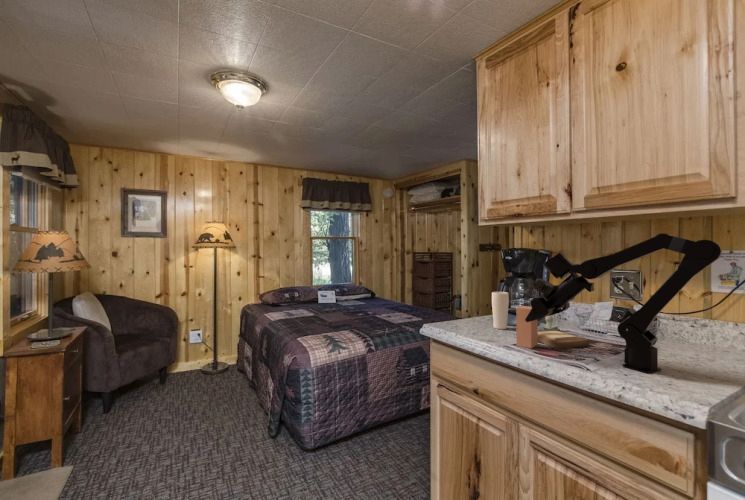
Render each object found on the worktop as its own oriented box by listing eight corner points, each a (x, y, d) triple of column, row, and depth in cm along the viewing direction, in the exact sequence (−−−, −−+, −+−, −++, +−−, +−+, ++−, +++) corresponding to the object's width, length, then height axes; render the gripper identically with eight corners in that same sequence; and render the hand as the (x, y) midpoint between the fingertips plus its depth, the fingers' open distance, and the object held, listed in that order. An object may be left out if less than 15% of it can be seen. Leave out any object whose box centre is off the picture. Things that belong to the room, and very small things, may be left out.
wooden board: (589, 345, 119) (589, 338, 119) (558, 348, 115) (558, 341, 115) (553, 334, 134) (553, 328, 134) (525, 337, 131) (525, 330, 131)
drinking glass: (488, 327, 148) (488, 292, 148) (501, 326, 150) (501, 291, 150) (498, 330, 141) (498, 293, 142) (512, 329, 143) (512, 293, 144)
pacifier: (545, 327, 148) (537, 329, 145) (545, 313, 148) (538, 314, 145) (562, 330, 142) (555, 332, 139) (563, 315, 143) (555, 316, 139)
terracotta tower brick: (537, 345, 119) (537, 307, 119) (531, 348, 116) (531, 309, 116) (523, 342, 123) (523, 306, 123) (516, 345, 120) (516, 307, 120)
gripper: (560, 269, 120) (527, 298, 128) (536, 272, 108) (502, 303, 116) (585, 295, 114) (550, 323, 123) (563, 300, 102) (526, 331, 110)
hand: (532, 319), depth 118 cm, fingers open, 9 cm apart
